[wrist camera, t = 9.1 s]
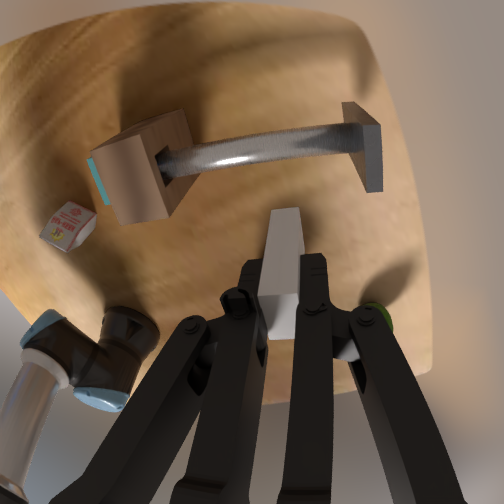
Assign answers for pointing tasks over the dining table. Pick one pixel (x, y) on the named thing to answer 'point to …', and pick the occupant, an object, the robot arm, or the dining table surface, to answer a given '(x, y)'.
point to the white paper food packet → (69, 226)
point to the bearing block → (143, 168)
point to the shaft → (288, 148)
